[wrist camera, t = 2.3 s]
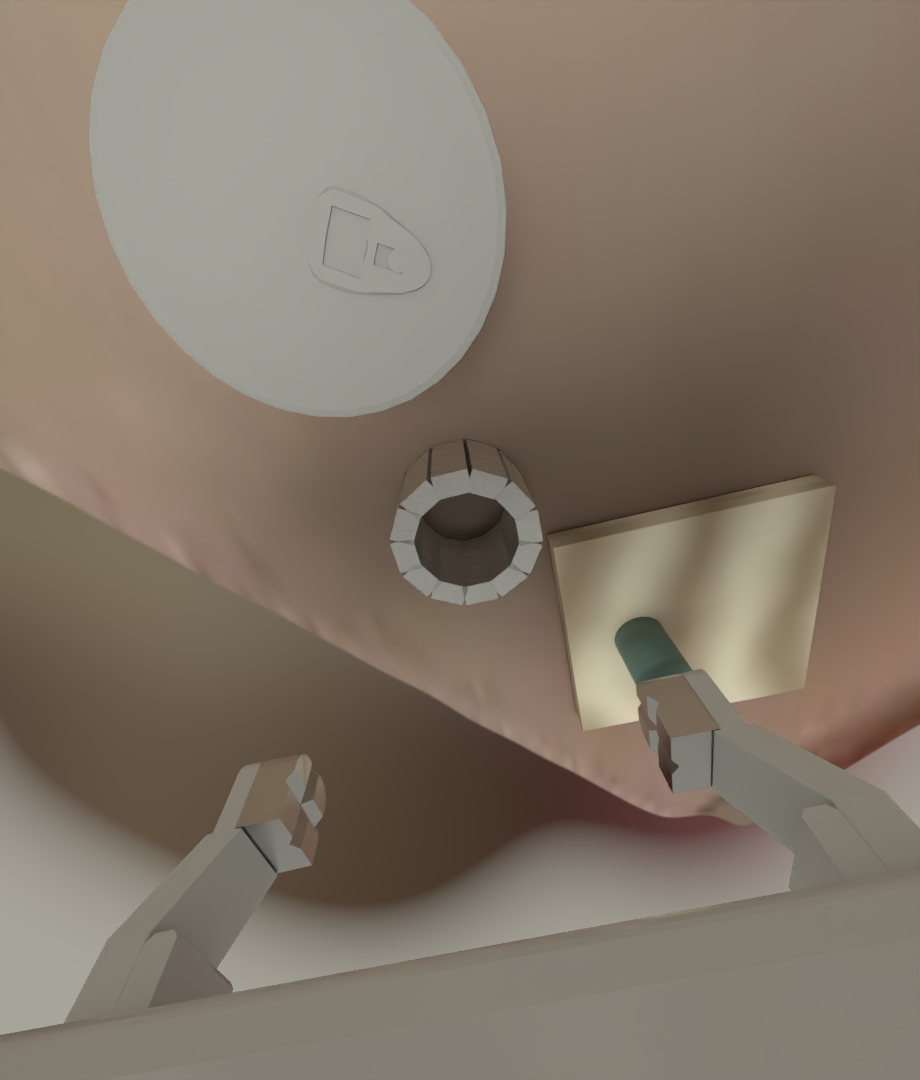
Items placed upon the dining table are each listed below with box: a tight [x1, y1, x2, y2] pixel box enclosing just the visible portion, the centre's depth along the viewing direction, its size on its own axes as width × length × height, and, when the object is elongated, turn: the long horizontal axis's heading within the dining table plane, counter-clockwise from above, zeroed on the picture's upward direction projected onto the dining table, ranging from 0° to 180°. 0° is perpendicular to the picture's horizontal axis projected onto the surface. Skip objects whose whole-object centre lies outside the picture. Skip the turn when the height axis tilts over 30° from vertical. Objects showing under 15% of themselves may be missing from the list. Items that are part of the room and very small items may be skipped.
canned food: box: [89, 0, 507, 417], centre depth 14 cm, size 8×8×11 cm
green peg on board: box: [547, 475, 837, 731], centre depth 23 cm, size 14×14×8 cm
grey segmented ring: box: [390, 439, 543, 605], centre depth 21 cm, size 6×6×4 cm
